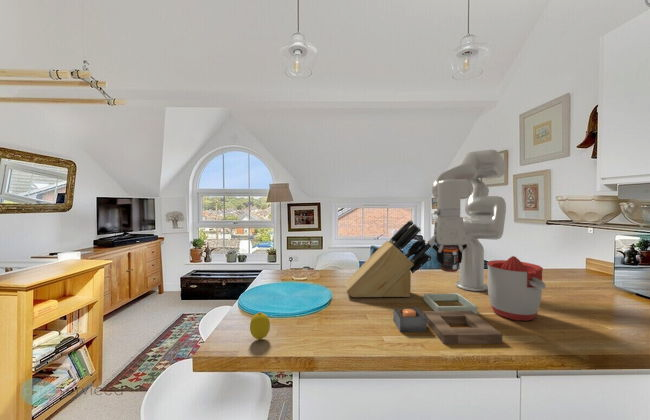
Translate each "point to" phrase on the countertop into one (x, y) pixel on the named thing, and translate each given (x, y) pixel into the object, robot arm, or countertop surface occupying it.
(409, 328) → the button housing
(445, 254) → the supplement bottle
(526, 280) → the citrus juicer
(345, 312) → the countertop surface
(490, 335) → the square frame
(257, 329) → the lemon
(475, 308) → the ring
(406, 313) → the button
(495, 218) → the robot arm
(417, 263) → the knife block
